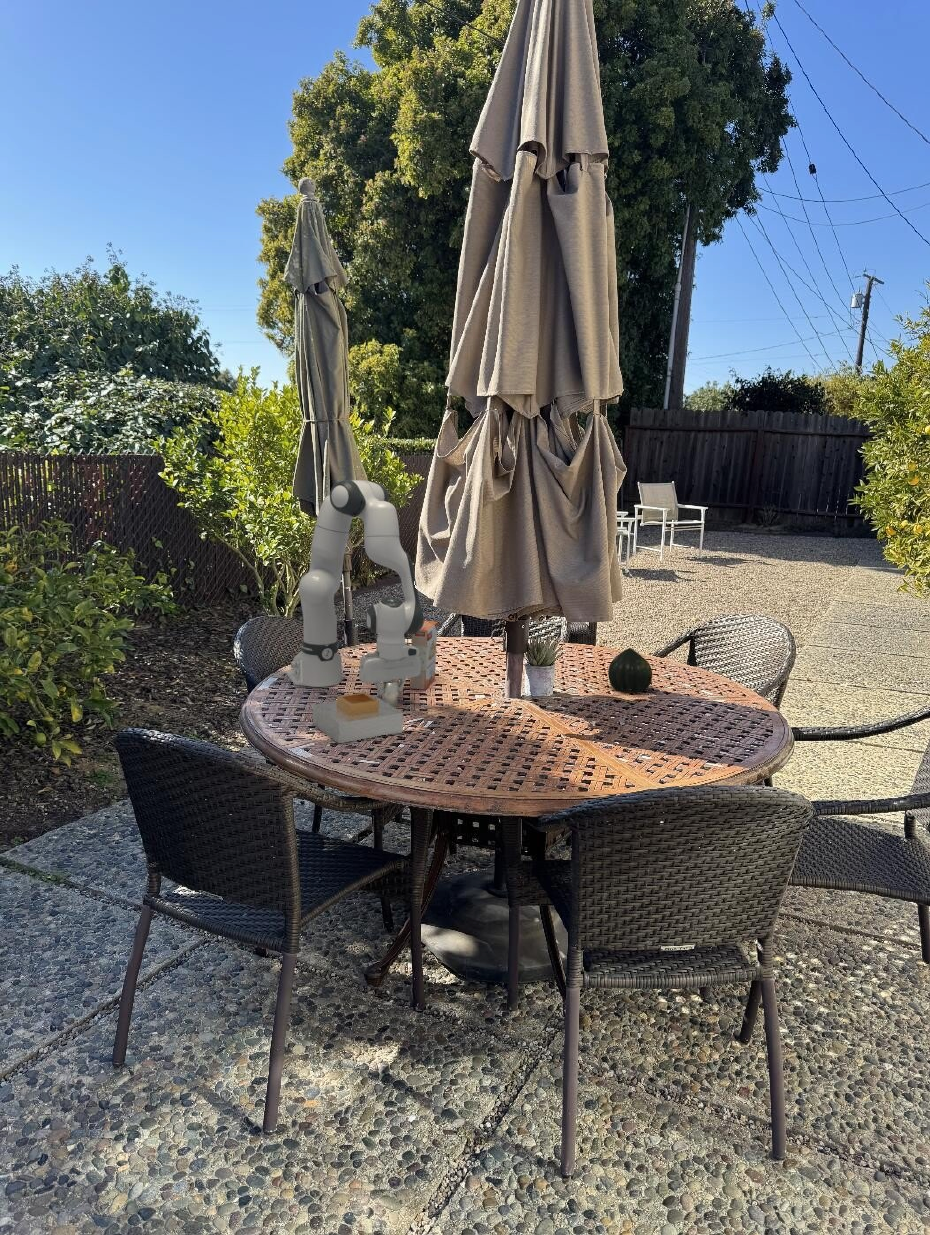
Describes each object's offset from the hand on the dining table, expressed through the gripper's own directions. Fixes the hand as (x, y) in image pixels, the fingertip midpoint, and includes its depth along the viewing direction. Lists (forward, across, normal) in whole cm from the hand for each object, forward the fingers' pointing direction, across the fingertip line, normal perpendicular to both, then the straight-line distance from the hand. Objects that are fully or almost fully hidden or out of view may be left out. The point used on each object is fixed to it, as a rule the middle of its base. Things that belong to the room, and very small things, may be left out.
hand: (389, 693), depth 271 cm
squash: (+4, +82, -21) cm, 85 cm away
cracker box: (+4, +21, +15) cm, 26 cm away
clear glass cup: (+4, 0, 0) cm, 4 cm away
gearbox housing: (+4, -18, -14) cm, 23 cm away
